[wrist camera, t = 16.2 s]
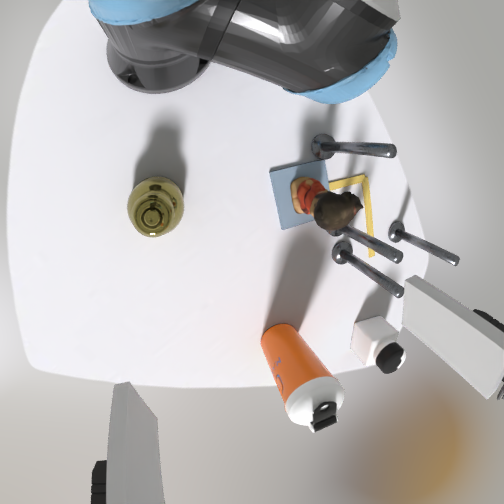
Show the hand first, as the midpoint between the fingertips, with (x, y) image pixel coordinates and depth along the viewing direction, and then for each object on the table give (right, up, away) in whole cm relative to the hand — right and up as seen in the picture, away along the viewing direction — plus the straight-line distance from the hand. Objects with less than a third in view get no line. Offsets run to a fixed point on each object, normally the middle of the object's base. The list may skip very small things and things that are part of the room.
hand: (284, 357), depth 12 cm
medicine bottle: (+23, -13, +47) cm, 54 cm away
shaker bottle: (+4, -12, +40) cm, 42 cm away
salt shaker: (-15, +11, +27) cm, 33 cm away
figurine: (+6, +13, +31) cm, 35 cm away
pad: (+6, +13, +32) cm, 35 cm away
